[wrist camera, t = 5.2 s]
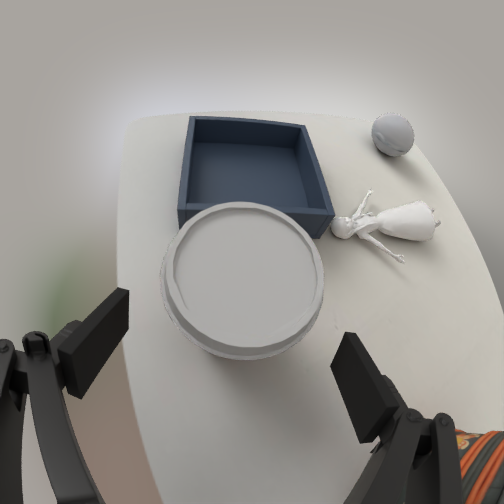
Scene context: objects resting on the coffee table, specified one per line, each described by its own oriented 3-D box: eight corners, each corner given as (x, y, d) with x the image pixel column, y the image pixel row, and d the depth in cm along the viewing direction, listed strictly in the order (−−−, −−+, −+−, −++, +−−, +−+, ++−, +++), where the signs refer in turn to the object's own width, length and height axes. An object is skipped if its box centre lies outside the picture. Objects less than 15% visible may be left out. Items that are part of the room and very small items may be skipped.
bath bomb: (380, 165, 41) (402, 131, 34) (357, 134, 44) (374, 101, 37) (408, 165, 43) (429, 135, 36) (385, 137, 46) (402, 107, 40)
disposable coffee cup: (162, 295, 25) (136, 223, 14) (251, 262, 28) (280, 181, 18) (203, 389, 21) (200, 390, 11) (296, 345, 25) (361, 306, 14)
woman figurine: (458, 245, 29) (356, 264, 26) (440, 260, 33) (339, 281, 30) (423, 179, 34) (321, 176, 31) (410, 196, 38) (312, 199, 35)
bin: (179, 236, 28) (177, 209, 24) (189, 142, 36) (189, 115, 32) (319, 238, 31) (335, 215, 27) (296, 149, 38) (305, 125, 34)
